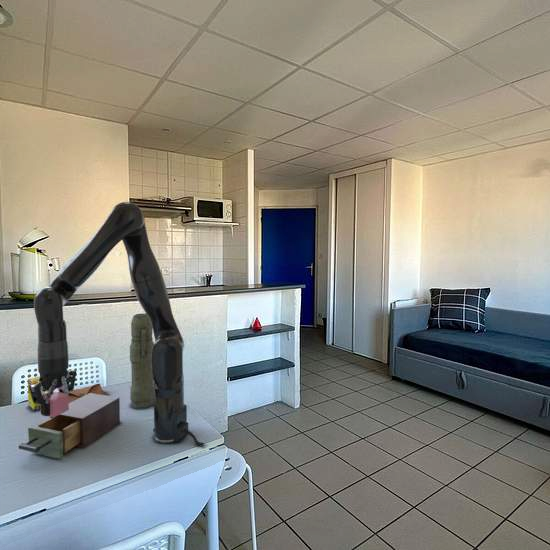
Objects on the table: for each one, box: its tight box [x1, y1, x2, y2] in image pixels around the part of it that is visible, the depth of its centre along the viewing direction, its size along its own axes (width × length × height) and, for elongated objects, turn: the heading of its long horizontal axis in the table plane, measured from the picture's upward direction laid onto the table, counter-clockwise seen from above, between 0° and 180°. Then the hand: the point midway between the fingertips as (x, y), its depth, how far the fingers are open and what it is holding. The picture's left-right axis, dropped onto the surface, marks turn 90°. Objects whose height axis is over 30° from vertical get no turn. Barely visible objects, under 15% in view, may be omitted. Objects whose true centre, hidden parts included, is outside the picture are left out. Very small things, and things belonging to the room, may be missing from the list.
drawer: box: [18, 416, 81, 459], centre depth 104 cm, size 19×11×7 cm, turn 163°
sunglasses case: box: [68, 383, 108, 403], centre depth 138 cm, size 18×7×7 cm, turn 138°
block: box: [40, 391, 69, 418], centre depth 103 cm, size 5×5×5 cm
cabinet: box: [49, 393, 121, 449], centre depth 114 cm, size 16×13×9 cm
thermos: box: [129, 313, 155, 410], centre depth 134 cm, size 9×12×35 cm
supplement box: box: [27, 375, 49, 412], centre depth 132 cm, size 6×6×11 cm
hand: (55, 410), depth 103 cm, fingers closed on block, 5 cm apart
